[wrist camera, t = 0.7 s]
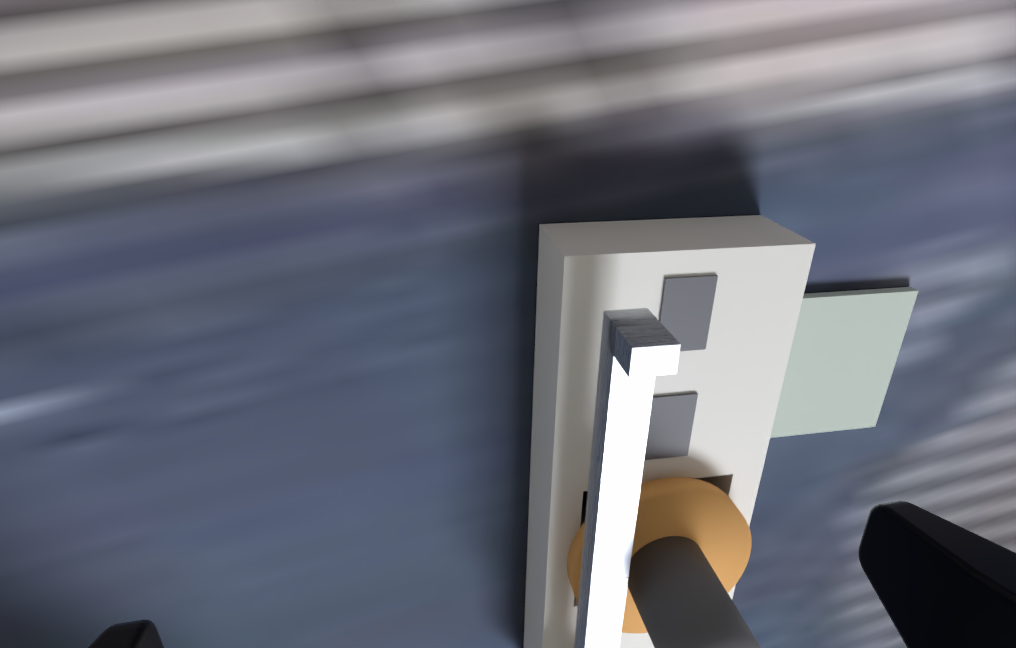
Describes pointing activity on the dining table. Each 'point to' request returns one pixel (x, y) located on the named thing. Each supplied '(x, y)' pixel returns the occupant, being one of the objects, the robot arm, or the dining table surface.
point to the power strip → (676, 397)
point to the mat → (842, 359)
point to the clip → (618, 466)
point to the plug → (682, 566)
